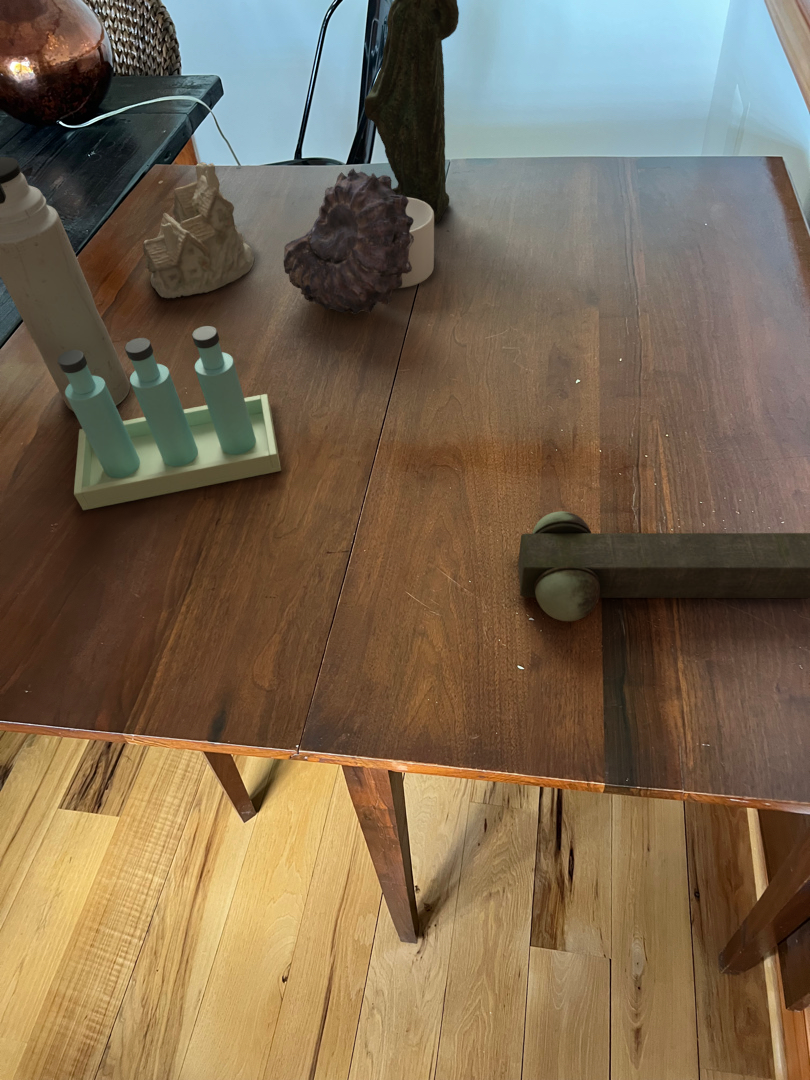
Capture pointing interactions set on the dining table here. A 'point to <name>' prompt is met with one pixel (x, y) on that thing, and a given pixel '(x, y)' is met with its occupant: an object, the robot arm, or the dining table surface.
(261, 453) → the tray
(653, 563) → the post
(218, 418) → the bottle
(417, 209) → the mug
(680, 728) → the dining table surface
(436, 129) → the statue
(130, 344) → the tray bottle
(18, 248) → the thermos bottle
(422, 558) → the dining table surface
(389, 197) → the seashell
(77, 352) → the tray bottle
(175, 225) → the ceramic cottage
